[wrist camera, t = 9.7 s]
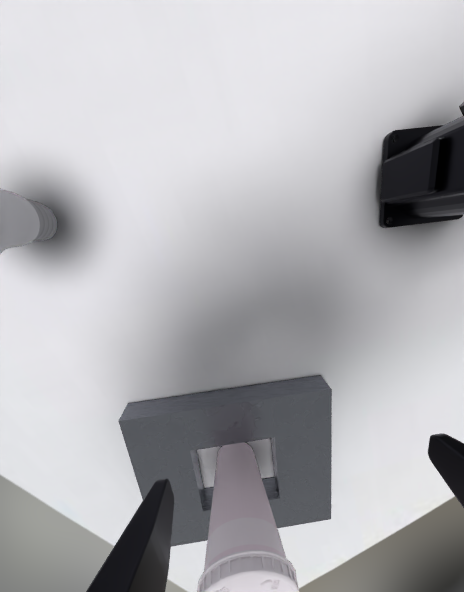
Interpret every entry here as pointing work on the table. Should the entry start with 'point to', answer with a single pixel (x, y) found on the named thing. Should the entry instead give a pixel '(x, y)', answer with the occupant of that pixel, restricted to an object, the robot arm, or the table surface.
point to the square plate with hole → (230, 430)
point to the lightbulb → (23, 221)
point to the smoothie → (243, 531)
